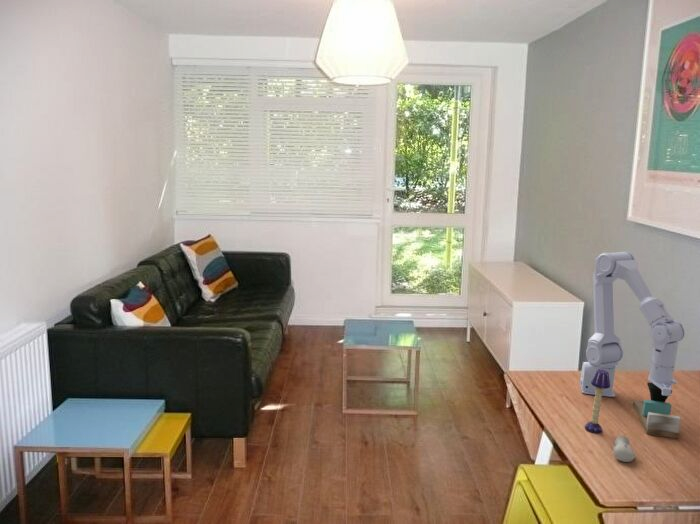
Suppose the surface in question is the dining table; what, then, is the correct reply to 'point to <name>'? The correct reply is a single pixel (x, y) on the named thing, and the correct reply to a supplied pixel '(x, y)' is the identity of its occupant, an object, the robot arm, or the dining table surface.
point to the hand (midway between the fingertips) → (656, 409)
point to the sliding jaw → (656, 407)
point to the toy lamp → (598, 398)
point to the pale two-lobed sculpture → (623, 449)
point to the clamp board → (658, 422)
